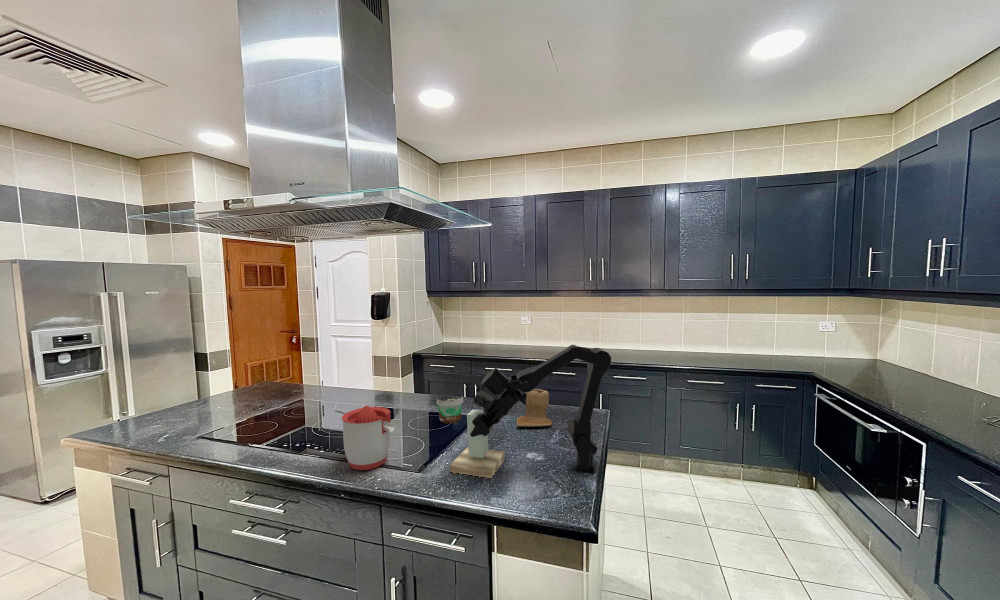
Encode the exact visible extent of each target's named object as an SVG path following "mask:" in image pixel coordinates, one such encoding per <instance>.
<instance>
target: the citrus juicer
mask: <svg viewBox="0 0 1000 600" xmlns="http://www.w3.org/2000/svg"><path fill="white" fill-rule="evenodd" d="M391 415H392V414H391V410H390V409H388V408H387V407H382V406H369V405H364V406H363V407H361V408H357V409H353V410H349V411H347V412H345V414H343V415H342V416H341V420H342V435H343V437H342V438H343V449H344V453H345V458H346V460H347V463H348V465H349V467H350V468H351V469H353V470H356V471H368V470H374V469H373V468H378V467H380V466H382V465H384V463H386V461H387V458H388V455H389V451H390V446H391V433H393V432H394V431H395V429H396V425H395V423H392V421H391V420H392V419H391Z"/></svg>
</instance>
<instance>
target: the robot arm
mask: <svg viewBox="0 0 1000 600" xmlns="http://www.w3.org/2000/svg"><path fill="white" fill-rule="evenodd" d="M575 360H579V361H582V362H586V366H587V375H586V379H585V383H584V387H583V389H582V390H583V391H582V395H581V398H580V402H579V406H578V410H577V414H576V416H575V417H574V418H571V417H569V419H568V420H569V421H568V426H567V427H566V430H567V434H568V437H569V439H570V440H571V442H572V443H573V445H574V446H575V450H576V451H575V452H576V453H575V457H576V459H575V464H574V466H573V470H574V471H578V472H586V473H590V474H591V473H593V474H595V472H596V466H597V463H596V462H595V455H597V452H598V447H597V445H596V444H595V442H594V441H593V439H592V426H591V425H592V424H591V420H592V417H593V413H594V408H595V404H596V401H597V398H598V397H597V396H598V393H599V389H600V386H601V381H602V378H603V377H604V376H605V375H606V373H607V372H608V370H609V368H610V366H611V364H612V356H611V355H610V353H609V352H607V351H606V350H604V349H602V348H600V347H593V348H590V347H589V348H588V347H584V346H583V347H582V346H578V345H575V344H571V345H569V346H568V347H566V348H564V349H563V350H561V351H560V352H558V353H556V354H555V355H554V356H551V357H550V358H548V359H547V360H545V361H543V362H541V363H539V364H538V365H535V366H530V367H528V368H525V369H523V370H520V371H518V372H517V373H516V374H513V375H508V376H506V375H504V374H503V372H501V371H500V369H498V367H494V369H492V370H491V371H490V372H489V373H487V374H486V375H485V377H483V379H482V381H481V383H480V384H481V385H483V386H484V387H485V388H486V389H487V390H488V391H490V393H492V394H493V395H495V396H496V395H497V396H496V397H494V396H492V395H491V394H489V393H487V392H485V391H484V390H479V391H478V392H476V394H475V396H474V397H473V401H472V402H473V404H475V405H477V406H478V407H481V408H483V409H482V410H483V411H484V412H485V413H486V414H485V415H484V414H479V415H478V416H477V417H476V418H475V419H474V420H473V421H472V423H473V424H474V426H475V427H474V429H473V430H472V432H471V434H470V435H471V437H474V436H478V435H483V436H487V435H489V434H490V432H492V430H493V429H494V425H496V424H498V423H499V422H500V421H501V420H502V419H503V418H504V417H505V416H506V415H507V414H508V413H509V412H510V411H511V410H512V409H514V407H515V406H517V404H519V403H521V404H523V406H526V402H527V394H525V392H526V393H527V392H530V391H532V390H533V389H536V388H537V387H538V386H539V385H540V384H541V382H542V381H543V380H544V379H546V378H547V377H548V376H550V375H551V374H554V373H555V372H557V371H558V370H559V369H561V368H564V367H565V366H567V365H568V364H570V363H572V362H573V361H575Z"/></svg>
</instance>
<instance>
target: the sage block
mask: <svg viewBox="0 0 1000 600" xmlns="http://www.w3.org/2000/svg"><path fill="white" fill-rule="evenodd" d="M483 410H484V409H482V410H481V409H471V410H470V411H469V412H468V413H467V414H466V423H467V424H466V426H467V428H466V429H467V447H468V452H469V457H477V458H483V457H484V456H485V455H486V454H487V452H488V450H489V443H488V442H489V441H488V439H489V438H488V435H489V434H488V435H487V436H483V435H478V436H474V437H471V435H470V434H471V432H472V430H473V429H474V427H475V426H474V424H473V423H472V421H473V420H474V419H475V418H476V417H477V416H478V415H479V414H484V415H485V414H486V413H485V412H484V411H483Z"/></svg>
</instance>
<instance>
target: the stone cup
mask: <svg viewBox="0 0 1000 600" xmlns="http://www.w3.org/2000/svg"><path fill="white" fill-rule="evenodd" d="M524 394H527V402H526V405H525V410H526V412H525V415H522V416H519V417H517V419H516V423H515V424H516V427H523V428H525V427H527V428H531V427H532V428H533V427H535V428H536V427H549V426H552V424H553V422H552V420H551V419H550V418H549V417H547V409H548V407H549V402H550V393H549V392H548V391H547V390H544V389H539V388H534V389H533V390H532V391H530V392H527V393H526V392H524Z"/></svg>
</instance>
